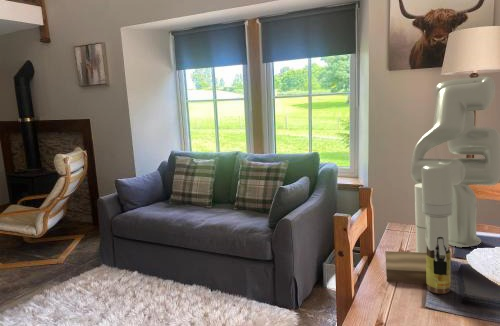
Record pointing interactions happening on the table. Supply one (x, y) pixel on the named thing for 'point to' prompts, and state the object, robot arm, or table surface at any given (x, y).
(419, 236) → the cylindrical container
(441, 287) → the sauce bottle
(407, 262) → the walnut plinth
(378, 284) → the table surface
